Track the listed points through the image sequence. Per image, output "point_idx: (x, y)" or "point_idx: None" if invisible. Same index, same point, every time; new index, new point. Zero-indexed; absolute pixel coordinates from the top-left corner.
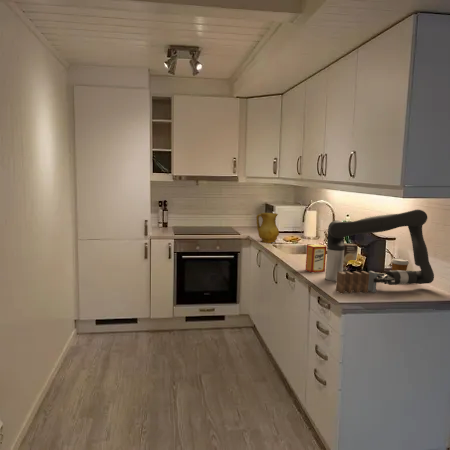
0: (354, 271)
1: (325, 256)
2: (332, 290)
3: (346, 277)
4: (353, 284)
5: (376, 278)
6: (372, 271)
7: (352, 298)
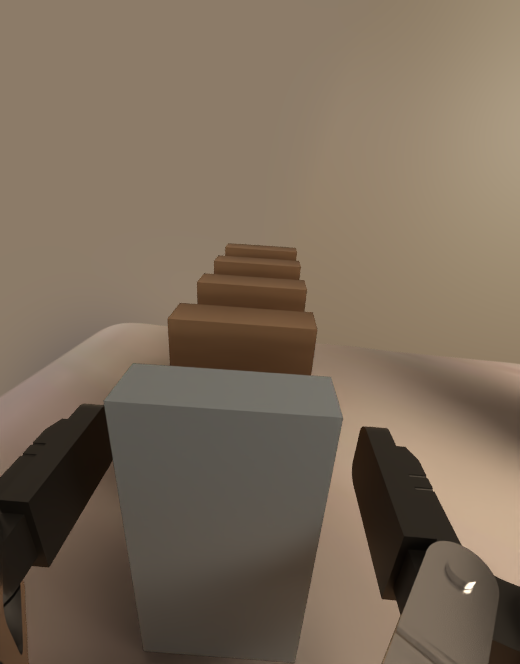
0: (295, 282)
1: None
2: None
3: None
4: None
5: (67, 422)
6: (285, 406)
7: (122, 362)
